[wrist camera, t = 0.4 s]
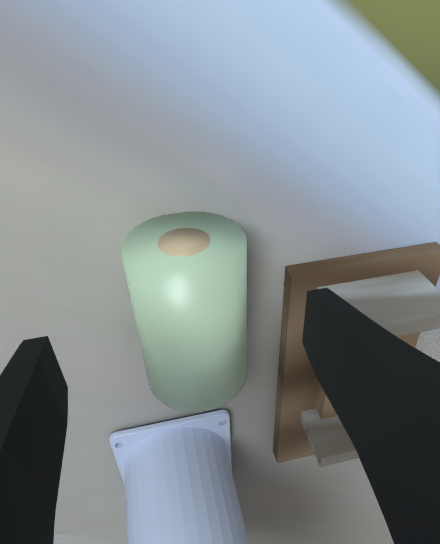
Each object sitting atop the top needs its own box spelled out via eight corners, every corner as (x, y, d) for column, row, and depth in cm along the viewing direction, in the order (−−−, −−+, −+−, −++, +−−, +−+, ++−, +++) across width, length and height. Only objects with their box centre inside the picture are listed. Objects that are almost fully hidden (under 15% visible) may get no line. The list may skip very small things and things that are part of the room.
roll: (233, 328, 25) (258, 400, 21) (144, 344, 24) (151, 422, 20) (230, 205, 20) (262, 266, 16) (119, 219, 19) (122, 289, 15)
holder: (377, 427, 35) (408, 480, 31) (273, 451, 33) (292, 509, 30) (436, 241, 24) (493, 289, 20) (285, 266, 23) (318, 321, 19)
